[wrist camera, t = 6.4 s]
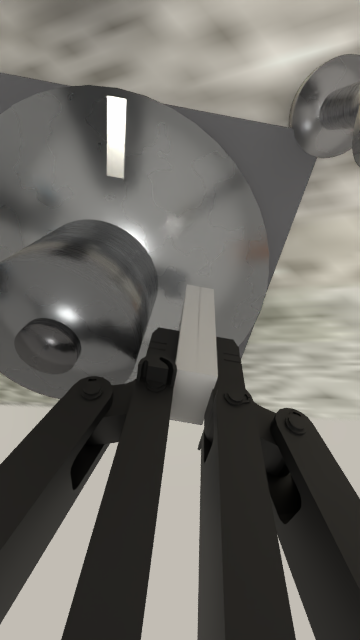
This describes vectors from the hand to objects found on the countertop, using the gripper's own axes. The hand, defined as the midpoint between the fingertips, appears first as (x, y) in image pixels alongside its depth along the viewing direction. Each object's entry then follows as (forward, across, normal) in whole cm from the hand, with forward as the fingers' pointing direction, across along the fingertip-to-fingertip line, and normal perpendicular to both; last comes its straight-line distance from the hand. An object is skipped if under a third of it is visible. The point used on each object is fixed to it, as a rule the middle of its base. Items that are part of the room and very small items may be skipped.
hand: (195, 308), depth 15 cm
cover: (+1, -6, 0) cm, 6 cm away
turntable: (+3, -5, 0) cm, 6 cm away
